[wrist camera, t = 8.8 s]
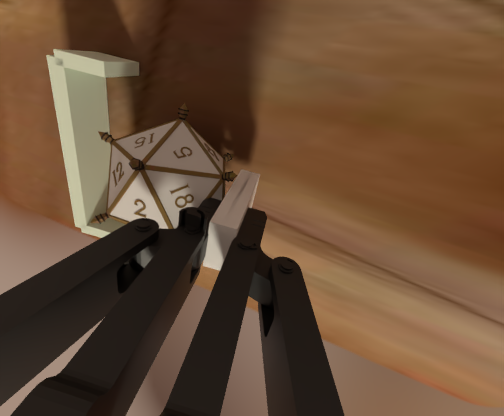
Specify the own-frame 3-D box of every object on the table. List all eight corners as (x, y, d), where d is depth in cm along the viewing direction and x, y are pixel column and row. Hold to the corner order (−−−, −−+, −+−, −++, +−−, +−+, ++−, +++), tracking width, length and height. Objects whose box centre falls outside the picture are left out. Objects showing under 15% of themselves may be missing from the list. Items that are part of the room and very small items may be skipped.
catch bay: (139, 62, 17) (103, 61, 14) (140, 219, 24) (116, 242, 21) (90, 50, 17) (45, 46, 14) (105, 209, 24) (76, 230, 21)
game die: (236, 157, 23) (266, 260, 17) (145, 187, 23) (147, 297, 18) (200, 55, 16) (233, 176, 10) (67, 100, 16) (26, 243, 10)
